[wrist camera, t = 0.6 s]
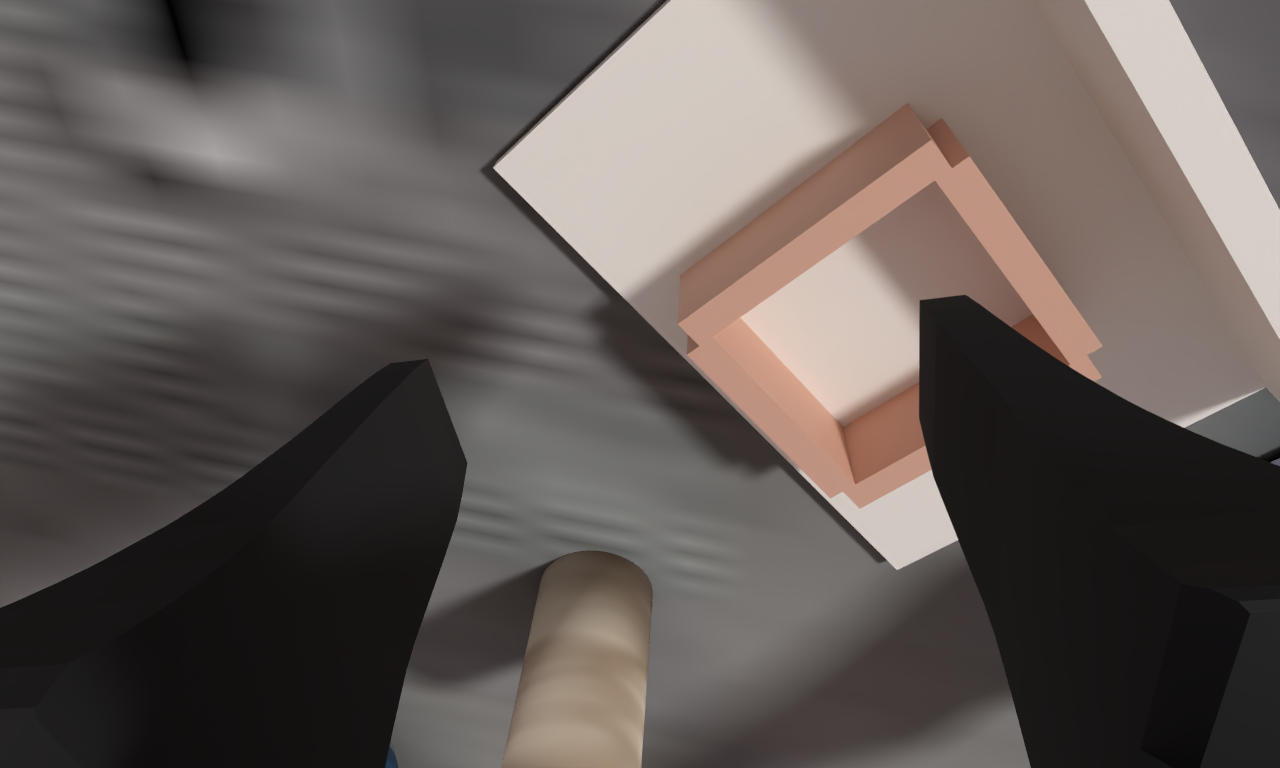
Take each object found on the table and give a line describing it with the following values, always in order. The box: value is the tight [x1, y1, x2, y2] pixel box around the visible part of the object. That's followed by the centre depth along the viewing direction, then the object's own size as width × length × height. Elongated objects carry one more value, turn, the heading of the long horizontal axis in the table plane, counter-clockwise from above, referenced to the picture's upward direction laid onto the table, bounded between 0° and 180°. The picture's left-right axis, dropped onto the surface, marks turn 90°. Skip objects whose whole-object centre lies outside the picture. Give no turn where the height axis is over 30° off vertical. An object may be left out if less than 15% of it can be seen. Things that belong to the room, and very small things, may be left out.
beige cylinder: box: [502, 551, 653, 768], centre depth 27 cm, size 4×4×7 cm
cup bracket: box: [493, 0, 1280, 570], centre depth 20 cm, size 18×12×5 cm
